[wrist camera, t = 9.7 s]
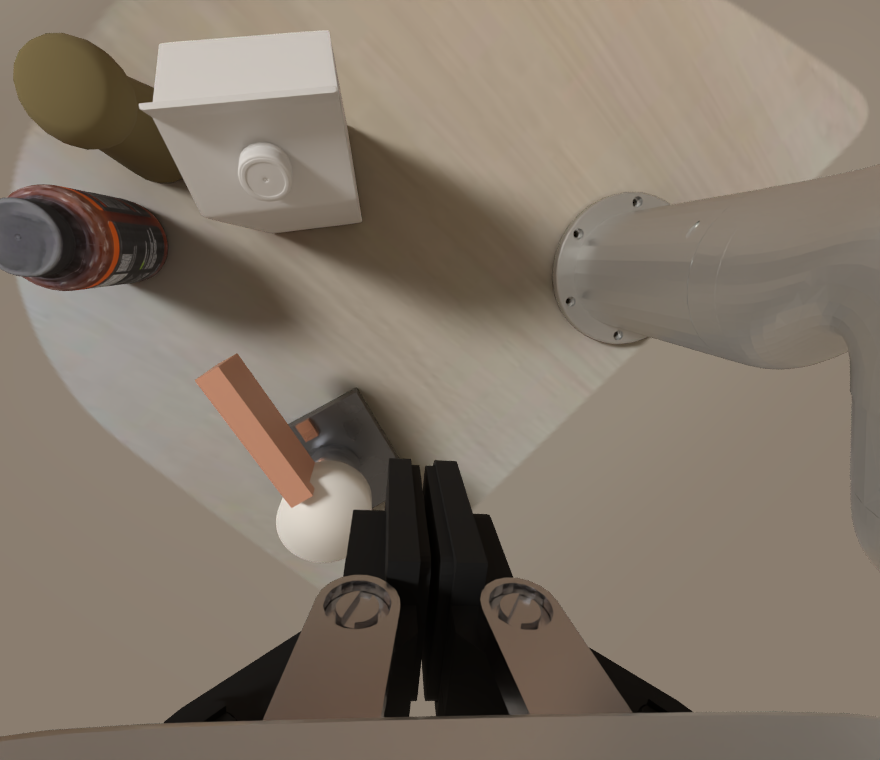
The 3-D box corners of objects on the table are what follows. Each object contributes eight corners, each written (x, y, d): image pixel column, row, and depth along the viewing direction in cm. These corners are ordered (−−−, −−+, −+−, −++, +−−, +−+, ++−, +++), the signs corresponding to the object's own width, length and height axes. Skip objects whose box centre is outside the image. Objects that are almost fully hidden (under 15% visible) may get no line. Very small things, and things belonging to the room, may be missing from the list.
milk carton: (249, 132, 34) (106, -11, 16) (346, 123, 35) (318, -25, 16) (270, 234, 36) (166, 211, 18) (362, 222, 37) (353, 189, 18)
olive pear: (219, 154, 34) (151, 108, 23) (151, 199, 34) (52, 173, 24) (162, 72, 32) (61, -18, 22) (90, 119, 32) (-45, 53, 22)
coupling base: (356, 387, 40) (353, 411, 34) (411, 478, 43) (418, 516, 37) (253, 442, 40) (232, 477, 34) (315, 530, 43) (306, 576, 37)
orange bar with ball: (387, 511, 36) (389, 541, 32) (315, 552, 36) (308, 587, 32) (268, 335, 31) (253, 346, 27) (185, 382, 31) (159, 400, 27)
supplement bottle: (74, 200, 33) (-68, 173, 23) (162, 198, 34) (66, 171, 23) (94, 285, 35) (-31, 297, 24) (178, 281, 36) (94, 292, 25)
